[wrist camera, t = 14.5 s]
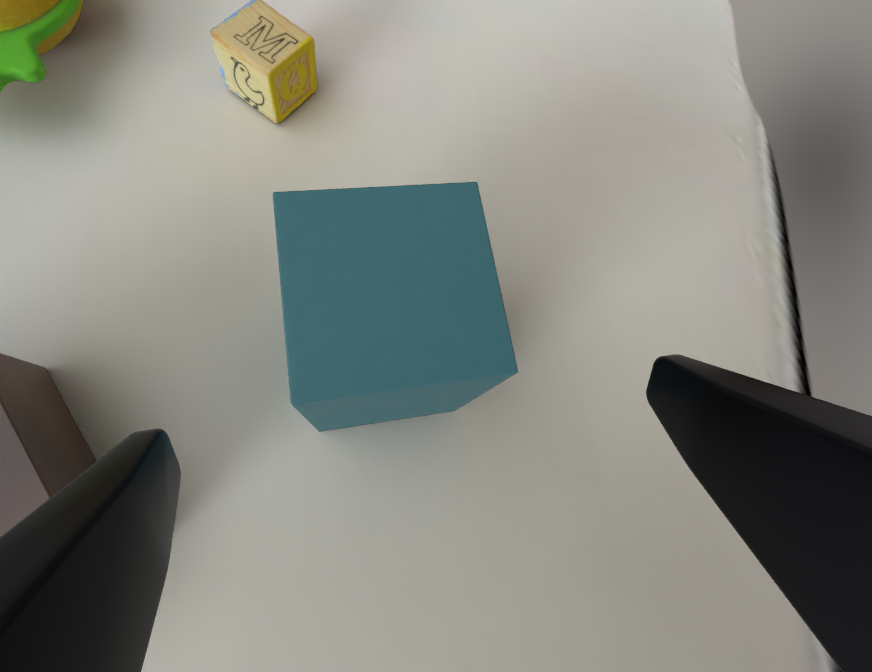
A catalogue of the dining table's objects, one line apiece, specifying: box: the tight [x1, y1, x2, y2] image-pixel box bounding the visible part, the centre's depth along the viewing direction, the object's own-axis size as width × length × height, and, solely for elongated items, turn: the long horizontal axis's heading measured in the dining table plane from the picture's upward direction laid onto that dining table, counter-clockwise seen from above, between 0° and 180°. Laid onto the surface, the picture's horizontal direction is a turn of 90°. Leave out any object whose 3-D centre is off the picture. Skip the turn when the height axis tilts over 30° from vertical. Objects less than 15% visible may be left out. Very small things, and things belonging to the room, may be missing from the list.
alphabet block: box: [209, 0, 317, 123], centre depth 21 cm, size 3×3×3 cm
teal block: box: [273, 182, 518, 431], centre depth 16 cm, size 6×6×8 cm
